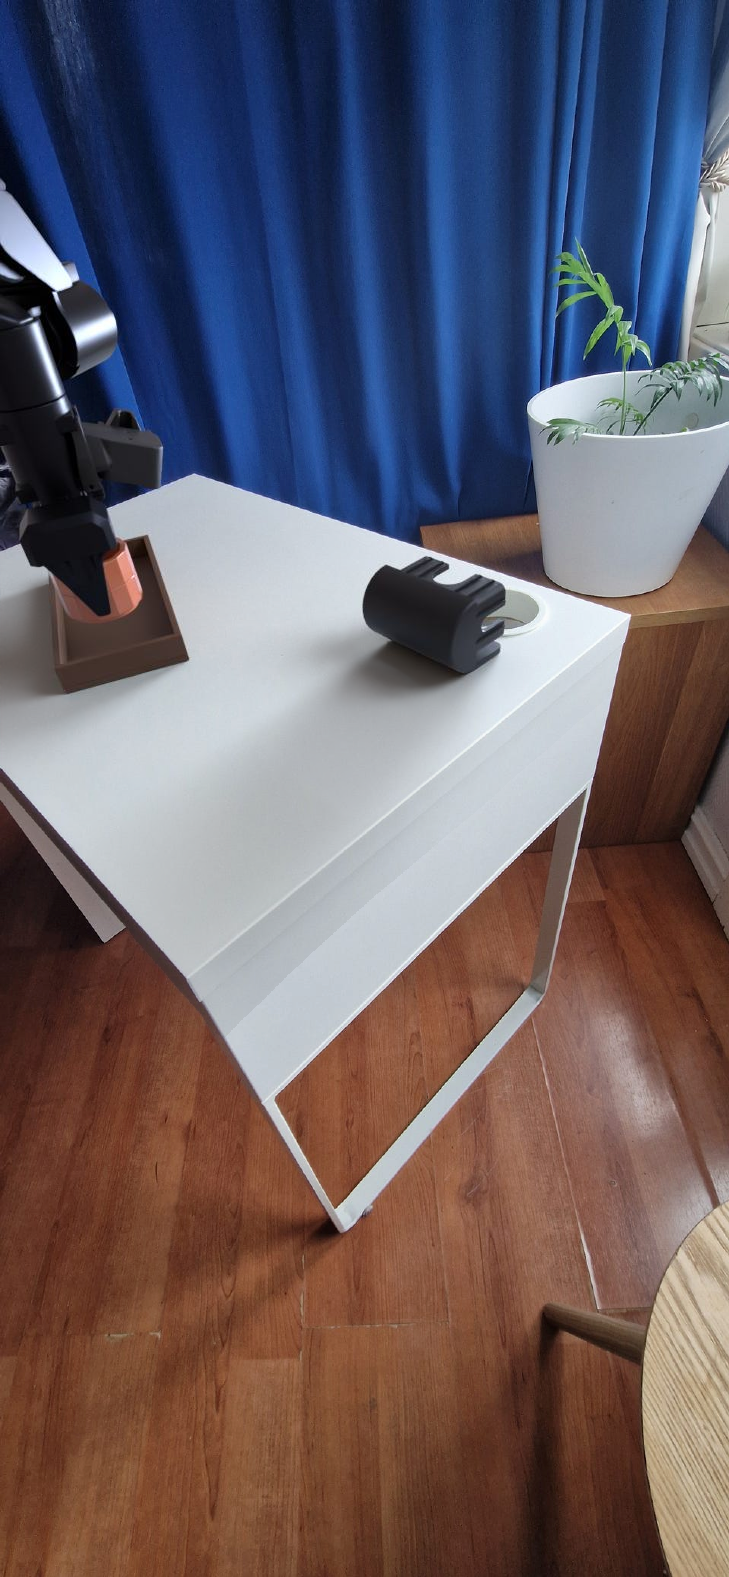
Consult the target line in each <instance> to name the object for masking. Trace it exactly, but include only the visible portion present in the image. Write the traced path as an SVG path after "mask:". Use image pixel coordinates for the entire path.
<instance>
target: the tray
mask: <svg viewBox="0 0 729 1577" xmlns="http://www.w3.org/2000/svg"><path fill="white" fill-rule="evenodd" d="M122 540H123V539H122ZM123 541H124V542H125V543H126V544H127V547H128V550H129V553H130V556H131V559H132V562H133V565H134V568H135V571H136V574H137V576H138V579H139V582H140V585H141V588H142V599H141V600H140V601H139V603H138V605H137V607H136V608H135V609H134V610H133V611H132V612H130V613H129V614H127V615H125V616H123V617H121V618H119V619H116V620H113V621H109V622H105V623H98V624H87V623H82V622H79V621H78V620H75V619H72V618H71V617H70V616H69V615H68V614H67V613H66V611H65V609H64V607H63V605H62V602H61V600H60V598H59V595H58V593H57V591H56V588H55V586H54V584H53V582H52V579H51V577H50V575H49V572H48V571H47V573H48V588H49V603H50V604H49V605H50V618H51V619H50V620H51V623H50V624H51V636H52V640H51V641H52V653H53V654H52V656H53V670H54V672H55V674H56V676H57V678H58V681H59V683H60V685H61V687H62V689H63V691H64V693H65V694H71V693H75V692H78V691H82V690H86V689H89V688H92V687H96V686H100V685H104V684H107V683H111V682H115V681H118V680H121V679H126V678H128V677H134V676H136V675H140V674H143V673H147V672H150V671H154V670H158V669H162V668H165V667H170V666H172V665H176V664H180V663H183V662H188V661H190V655H189V653H188V650H187V646H186V644H185V641H184V637H183V634H182V630H181V628H180V625H179V622H178V619H177V617H176V613H175V610H174V608H173V605H172V602H171V598H170V596H169V593H168V592H169V591H168V589H167V587H166V584H165V581H164V578H163V575H162V572H161V568H160V566H159V563H158V560H157V557H156V554H155V552H154V551H155V550H154V548H153V545H152V543H151V539H150V537H149V534H144V535H140V536H136V537H135V536H134V537H131V538H127V539H124V540H123Z"/></svg>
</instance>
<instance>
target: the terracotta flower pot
mask: <svg viewBox="0 0 729 1577" xmlns="http://www.w3.org/2000/svg"><path fill="white" fill-rule="evenodd" d="M116 540H117V544H118V546H116V547H115V548H113V549H112V550H110V551H108V552H107V553H106V555H105V556H104V558H103V566H104V572H105V578H106V584H107V590H108V596H109V602H110V608H111V613H110V614H109V615H105V616H101V617H99V616H97V615H96V614H95V613H94V612H93V611H92V610H91V609H90V608H89V607H88V606H87V605H86V604H85V603H84V602H82V601H81V600H80V599H79V598H78V597H77V596H76V595H75V594H74V593H73V592H72V591H71V590H70V589H69V588H68V587H67V586H65V585H64V584H63V583H62V582H61V581H60V580H59V579H58V578H57V577H55V576H54V575H53V574H52V573H51V572H50V571H49V570H47V573H48V572H49V573H48V576H49V575H50V577H51V579H52V582H53V584H54V586H55V588H56V591H57V593H58V595H59V598H60V600H61V602H62V605H63V607H64V609H65V611H66V613H67V614H68V615H69V616H70V617H71V618H72V619H75V620H78V621H79V622H82V623H87V624H98V623H105V622H109V621H113V620H116V619H119V618H121V617H123V616H125V615H127V614H129V613H130V612H132V611H133V610H134V609H135V608H136V607H137V605H138V603H139V601H140V600H141V599H142V588H141V585H140V582H139V579H138V576H137V574H136V571H135V568H134V565H133V562H132V559H131V556H130V553H129V550H128V547H127V544H126V543H125V542H124V541H123V539H121V537H117V536H116Z"/></svg>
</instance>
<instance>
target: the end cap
mask: <svg viewBox="0 0 729 1577" xmlns="http://www.w3.org/2000/svg"><path fill="white" fill-rule="evenodd" d="M449 570H450V564H449V563H447V562H445V561H443V560H439V559H436V558H434V557H432V556H428V555H425V556H423V557H420V559H418V560H416V561H414V562H412V563H410V564H409V565H407V566H404V567H403V568H401V569H400V568H397V567H393V566H391V565H388V564H384V565H383V566H381V567H380V568H379V569H377V571H375V573H374V574H373V575H372V577H371V578H370V580H369V581H368V583H367V585H366V588H365V590H364V594H363V597H362V604H361V605H362V606H361V607H362V609H361V610H362V616H363V620H364V622H365V624H366V626H367V627H368V629H370V630H372V632H375V633H376V634H379V635H380V636H382V637H384V638H387V639H389V640H390V641H393V642H395V643H396V644H399V645H401V646H403V647H405V648H407V649H409V650H412V651H414V652H416V653H418V654H420V655H422V656H424V657H426V658H429V659H431V660H433V661H435V662H437V663H439V664H441V665H443V666H445V667H448V668H449V669H452V670H454V671H456V672H457V673H460V674H465V675H466V674H470V673H472V672H474V671H475V670H477V669H479V668H481V666H483V665H484V664H486V663H488V662H489V661H490V660H492V659H493V658H495V657H496V656H498V655H499V654H500V653H501V643H499V642H498V641H496V640H498V639H499V638H500V637H502V636H504V633H505V628H506V627H505V618H503V617H500V618H498V619H496V620H494V621H493V622H492V623H490V624H489V625H484V624H483V623H484V621H485V619H486V618H487V617H489V616H490V615H492V614H494V613H495V612H497V611H498V610H500V609H501V608H503V607H505V606H506V602H507V599H506V594H507V593H506V592H507V591H506V587H505V585H504V584H503V583H502V582H500V581H497V580H495V579H493V578H489V577H486V576H484V575H482V574H478V573H474V574H473V575H471V576H469V577H468V578H466V579H464V580H463V581H461V582H460V581H459V582H456V583H442V582H441V583H440V582H438V581H436V580H435V578H437V577H438V576H440V575H441V574H443V573H445V572H447V571H449Z"/></svg>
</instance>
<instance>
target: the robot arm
mask: <svg viewBox="0 0 729 1577" xmlns="http://www.w3.org/2000/svg"><path fill="white" fill-rule="evenodd" d="M117 326H118V325H117V320H116V318H115V315H114V312H113V311H112V310H111V309H110V307H109V305H108V304H107V302H106V300H105V299H104V298H103V297H102V295H101V294H100V293H99V292H98V291H97V290H96V289H95V288H94V287H93V286H92V285H90V284H88V283H87V282H85V281H83V280H81V279H80V276H79V273H78V270H77V267H76V264H75V263H74V261H61V260H60V259H59V257H57V254H56V253H55V252H54V251H53V249H52V248H51V247H50V245H49V244H48V243H47V241H46V240H45V238H44V237H43V236H42V234H41V233H40V231H39V230H38V229H37V227H36V226H35V224H34V223H33V222H32V220H31V219H30V217H29V216H28V215H27V214H26V212H25V211H24V209H23V208H22V207H21V205H20V203H19V202H18V201H17V200H16V198H14V196H13V195H12V193H11V192H9V191H7V190H6V183H5V182H4V181H3V178H1V177H0V448H1V451H2V453H3V455H4V457H5V460H6V462H7V464H8V467H9V469H10V472H11V474H12V476H13V479H14V481H15V494H16V496H17V498H18V501H19V503H20V505H21V506H23V505H27V504H32V507H30V508H26V511H25V512H24V514H23V516H22V519H21V521H20V523H19V544H20V546H21V549H22V550H23V553H24V555H25V557H26V560H27V561H28V563H29V567H34V568H42V567H44V568H45V569H46V570H47V571H48V570H49V571H50V572H51V573H52V574H53V575H54V576H55V577H57V578H58V579H59V580H60V581H61V582H62V583H63V584H64V585H65V586H67V587H68V588H69V589H70V590H71V591H72V592H73V593H74V594H75V595H76V596H77V597H78V598H79V599H80V600H81V601H82V602H84V603H85V604H86V605H87V606H88V607H89V608H90V609H91V610H92V611H93V612H94V613H95V614H96V615H97V616H99V617H101V616H105V615H109V614H110V613H111V608H110V602H109V596H108V590H107V584H106V578H105V572H104V566H103V558H104V556H105V555H106V553H107V552H108V551H110V550H112V549H113V548H115V547H116V546H118V544H117V540H116V537H117V536H116V532H115V529H114V526H113V522H112V520H111V517H110V514H109V511H108V509H107V505H106V504H105V503H103V501H104V499H105V497H106V493H105V489H104V486H103V485H102V483H101V482H103V480H104V481H107V482H112V483H113V482H114V483H120V484H121V483H122V484H129V485H135V486H141V487H142V488H143V489H147V490H159V489H161V488H162V471H163V455H164V446H163V443H162V441H161V438H160V437H159V435H157V434H156V433H153V432H152V430H151V429H145V430H142V429H141V427H140V425H139V422H138V419H137V418H136V415H135V413H134V411H133V410H129V409H125V408H118V407H115V408H113V411H112V412H111V414H110V416H109V417H108V419H107V420H106V422H105V423H104V421H98V422H97V423H92V422H85V421H82V420H81V417H80V415H79V411H78V408H77V406H76V404H74V405H73V404H72V402H71V400H70V399H68V396H67V393H66V390H65V387H64V384H63V382H65V381H68V380H71V379H72V378H74V377H76V376H78V375H80V374H82V373H84V372H86V371H88V370H89V369H92V368H94V367H95V366H98V365H99V364H101V363H103V362H105V361H106V360H108V359H109V358H110V357H112V355H113V353H114V351H115V350H116V347H117V343H118V327H117Z"/></svg>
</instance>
